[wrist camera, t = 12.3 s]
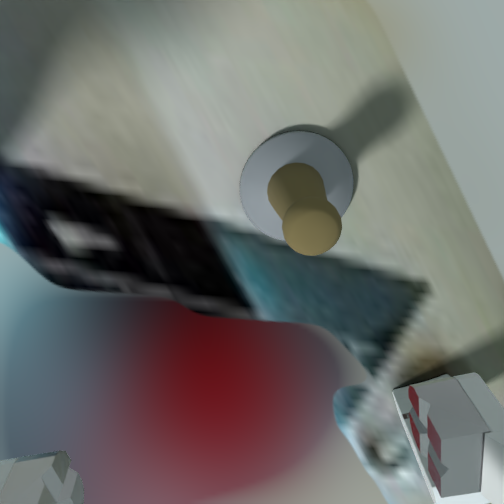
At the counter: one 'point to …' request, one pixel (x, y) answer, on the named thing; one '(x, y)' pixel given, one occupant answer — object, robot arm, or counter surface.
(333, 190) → the coaster
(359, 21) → the counter surface
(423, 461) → the skincare box
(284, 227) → the cork
